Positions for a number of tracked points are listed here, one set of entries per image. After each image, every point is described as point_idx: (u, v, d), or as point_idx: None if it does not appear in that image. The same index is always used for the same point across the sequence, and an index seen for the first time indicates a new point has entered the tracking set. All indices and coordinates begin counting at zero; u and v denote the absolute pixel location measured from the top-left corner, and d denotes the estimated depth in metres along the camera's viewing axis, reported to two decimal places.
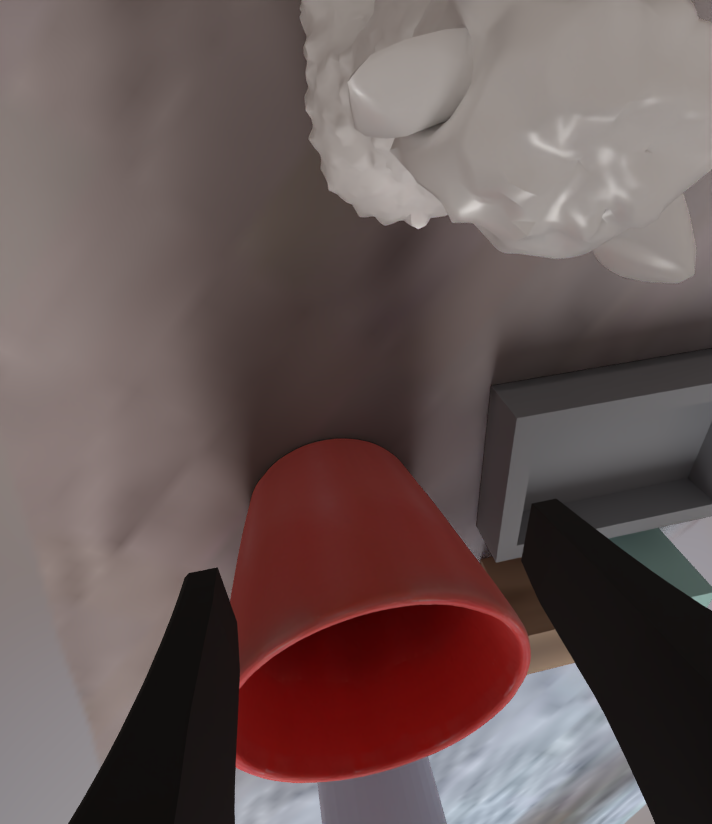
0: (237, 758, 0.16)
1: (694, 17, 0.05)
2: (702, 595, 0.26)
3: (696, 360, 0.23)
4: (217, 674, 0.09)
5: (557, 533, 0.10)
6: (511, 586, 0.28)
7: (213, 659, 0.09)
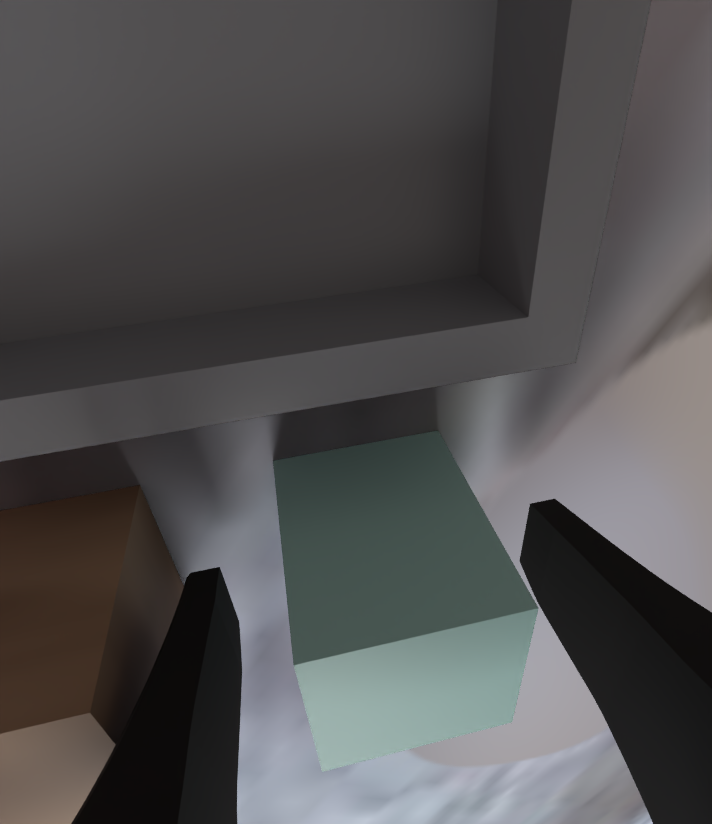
0: None
1: None
2: (493, 621, 0.08)
3: None
4: (219, 675, 0.09)
5: (555, 533, 0.10)
6: None
7: (215, 658, 0.09)
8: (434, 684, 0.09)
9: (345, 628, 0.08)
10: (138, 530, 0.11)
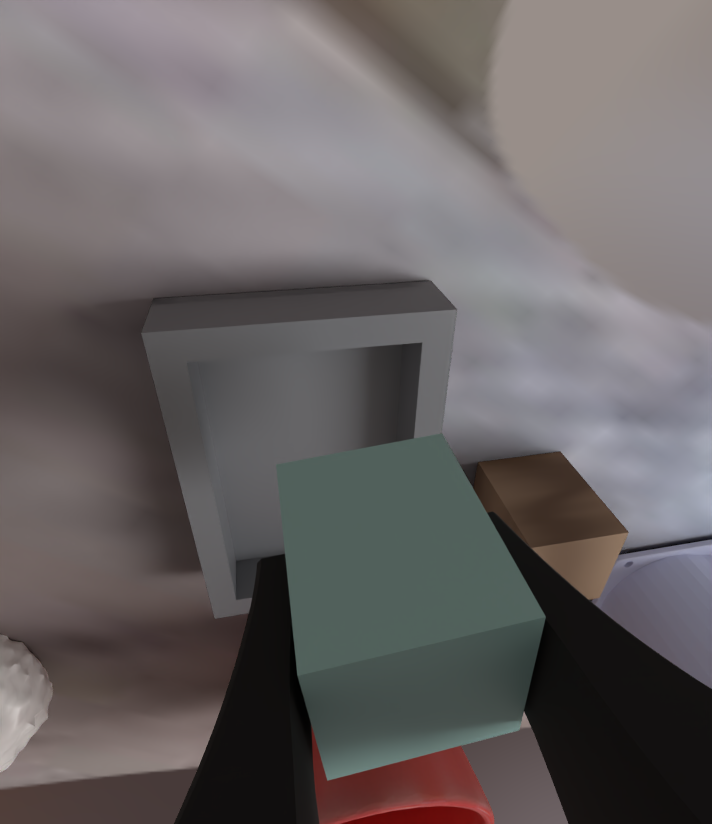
0: None
1: None
2: (499, 630, 0.08)
3: None
4: None
5: None
6: None
7: None
8: (440, 694, 0.09)
9: (349, 638, 0.08)
10: (495, 475, 0.22)
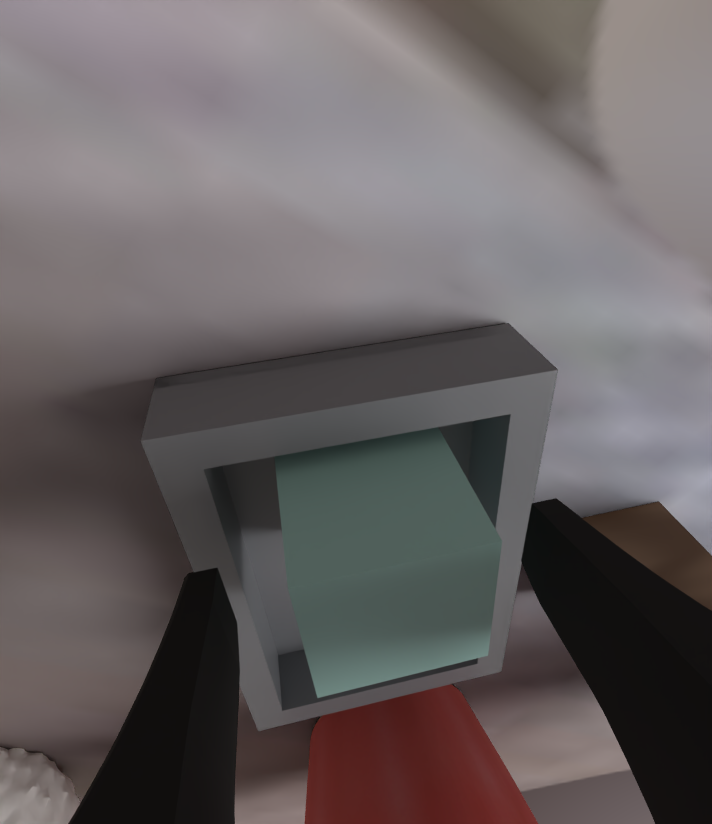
0: None
1: None
2: (462, 552, 0.09)
3: None
4: (217, 675, 0.09)
5: (557, 533, 0.10)
6: None
7: (213, 659, 0.09)
8: (413, 614, 0.10)
9: (333, 560, 0.09)
10: None
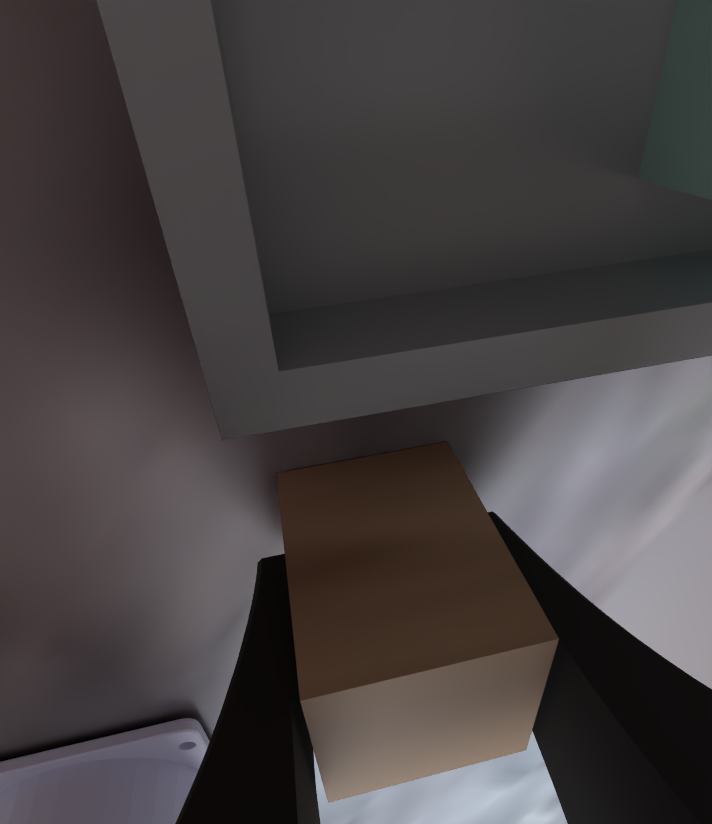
0: None
1: None
2: None
3: None
4: None
5: None
6: (329, 539, 0.10)
7: None
8: None
9: None
10: None
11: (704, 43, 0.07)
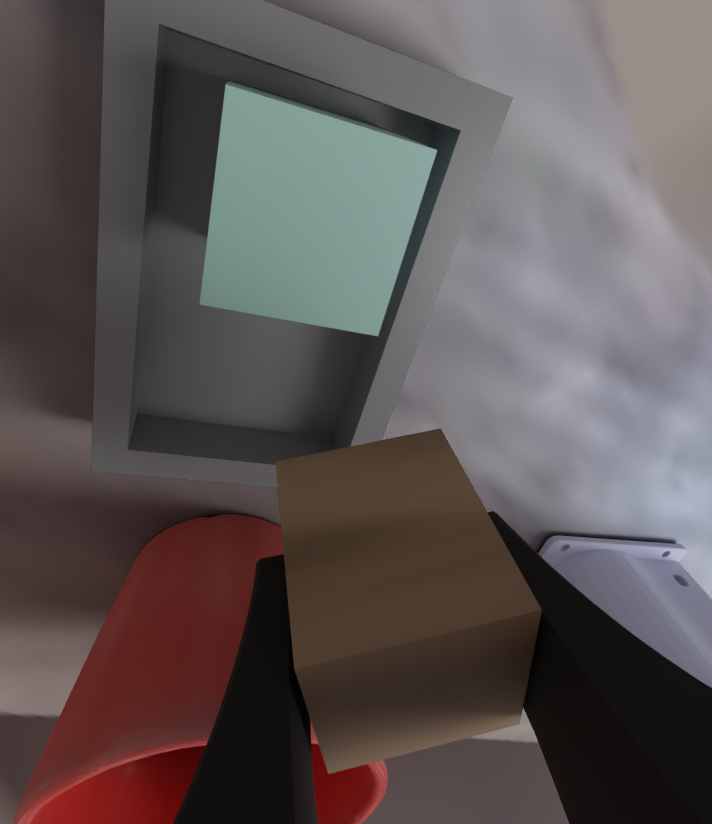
0: None
1: None
2: (399, 144, 0.10)
3: None
4: None
5: None
6: (324, 522, 0.10)
7: None
8: (330, 216, 0.10)
9: (275, 99, 0.09)
10: None
11: None
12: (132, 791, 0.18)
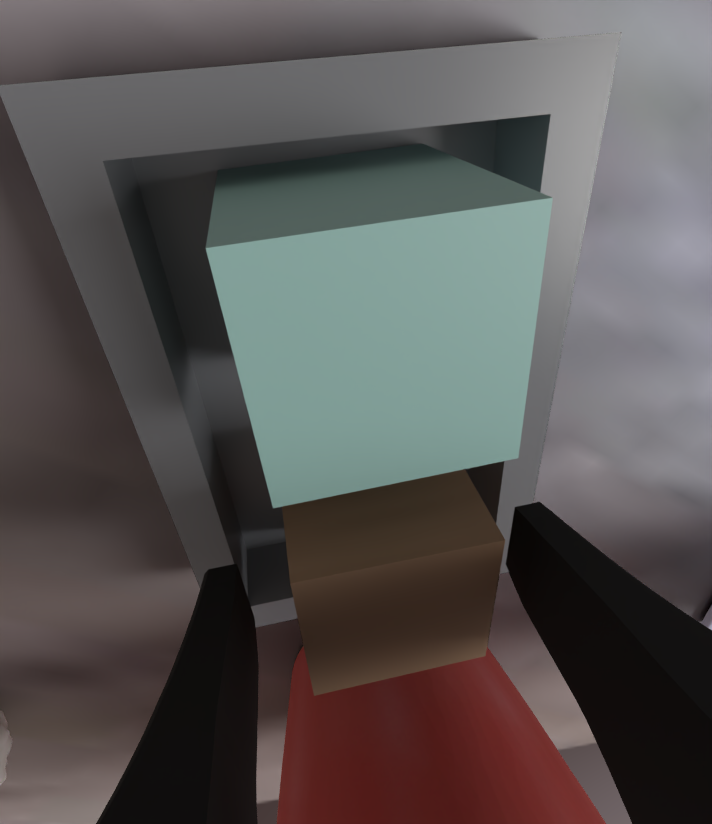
0: None
1: None
2: (489, 215, 0.06)
3: None
4: (239, 669, 0.09)
5: (539, 537, 0.10)
6: None
7: (235, 654, 0.09)
8: (412, 348, 0.07)
9: (283, 227, 0.06)
10: None
11: None
12: None
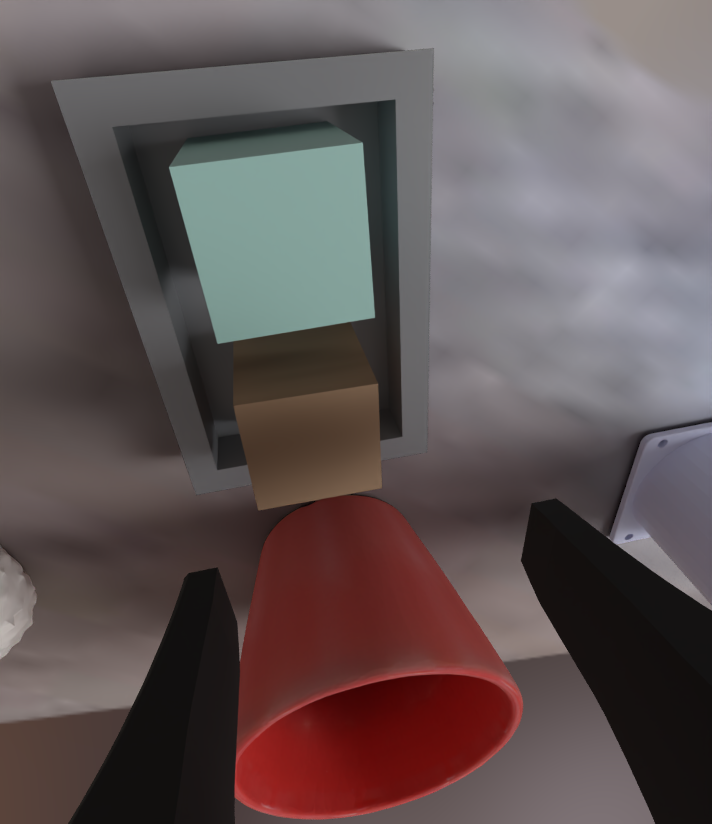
0: (410, 798, 0.21)
1: None
2: (327, 152, 0.11)
3: None
4: (217, 675, 0.09)
5: (557, 533, 0.10)
6: (261, 353, 0.16)
7: (213, 659, 0.09)
8: (293, 234, 0.11)
9: (213, 158, 0.11)
10: None
11: None
12: (314, 740, 0.22)
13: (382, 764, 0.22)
